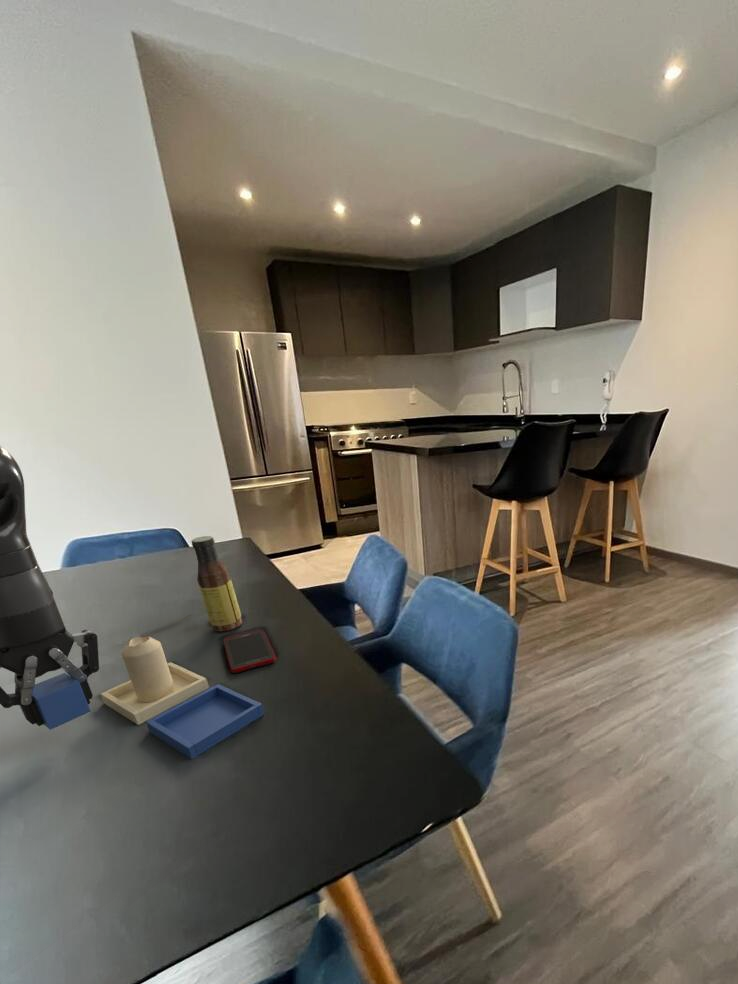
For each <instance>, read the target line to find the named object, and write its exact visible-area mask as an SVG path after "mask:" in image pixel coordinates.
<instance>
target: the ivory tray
mask: <svg viewBox="0 0 738 984" xmlns="http://www.w3.org/2000/svg"><path fill="white" fill-rule="evenodd" d="M167 664H168V667H169V670H170V674H171V677H172V680H173V683H174V687H175V689H174V691H173V692H172V693H171V694H170V695H168V696H166V697H164V698H162V699H160V700H157V701H154V702H141V701H139V700H138V698H137V696H136V693H135V690H134V688H133V685H132V682H131V679H130V680H127V681H126V682H123V683H121V684H118V685H116V686H115V687H112V688H110V689H107V690H106V691H103V692H101V693H100V696H101V699H102V702H103V704H104V705H105V706H107V707H109V708H110V709H112V710H114V711H115V712H116V713H119V714H120V715H122V716H123V717H125V718H126V719H127V720H129V721H131V722H132V723H134V724H136V725H137V726H140V725H142V724H143V723H146V721H148V720H150V719H152V718H154V717H156V716H158V715H160V714H162V713H164V712H165V711H167V710H169V709H171V708H173V707H175V706H177V705H179V704H181V703H183V702H184V701H186V700H188V699H190V698H192V697H194V696H196V695H198V694H200V693H202V692H204V691H205V690H207V689H209V688H210V686H209V683H208V680H207V678H206V677H205V676H202V675H200V674H197V673H195V672H193V671H191V670H188V669H187V668H185V667H182V666H180V665H178V664H175V663H173V662H167Z"/></svg>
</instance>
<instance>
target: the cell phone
mask: <svg viewBox="0 0 738 984" xmlns="http://www.w3.org/2000/svg"><path fill="white" fill-rule="evenodd" d="M223 645H224V649H225V653H226V657H227V660H228V664H229V667H230V671H231V672H232V673H233V674H237V673H241V672H243V671H248V670H251V669H253V668H254V669H255V668H258V667H262V666H266V665H270V664H272V663H275V662H276V660H277V659H276V654H275V652H274V649H273V647H272V645H271V643H270V642H269V639H268V636H267V635H266V631H264V630H263V629H256V630H253V631H249V632H245V633H241V634H237V635H232V636H228V637H226V638H224V639H223Z"/></svg>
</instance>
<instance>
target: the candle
mask: <svg viewBox="0 0 738 984" xmlns="http://www.w3.org/2000/svg"><path fill="white" fill-rule="evenodd" d="M165 655H166V654H165V652H164V649H163V647H162V643H161V642H160V641H159V640H157V639H155V638H153V637H151V636H149V635H147V636H144V637H139V636H138V637H137V636H136V637H133V638H132V639H130V641H129V642H128V643H127V644H126V646H124V648H123V649H122V651H121V657H122V660H123V663H124V664H125V668H126V671H127V674H128V676H129V679H130V680H131V682H132V685H133V688H134V690H135V693H136V696H137V698H138V700H139V701H141V702H154V701H157V700H160V699H162V698H164V697H166V696H168V695H170V694H171V693H172V692H173V691H174V689H175V687H174V683H173V680H172V677H171V674H170V670H169V667H168V664H167V663H168V662H167V658H166V656H165Z"/></svg>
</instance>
